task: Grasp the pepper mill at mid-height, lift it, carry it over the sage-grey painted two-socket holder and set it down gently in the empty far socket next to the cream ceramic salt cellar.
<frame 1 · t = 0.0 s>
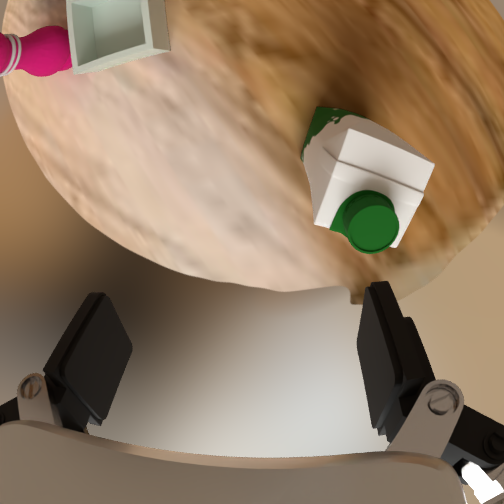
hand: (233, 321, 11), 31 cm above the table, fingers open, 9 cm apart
milk carton: (334, 140, 37), on the table
pepper mill: (66, 50, 31), on the table
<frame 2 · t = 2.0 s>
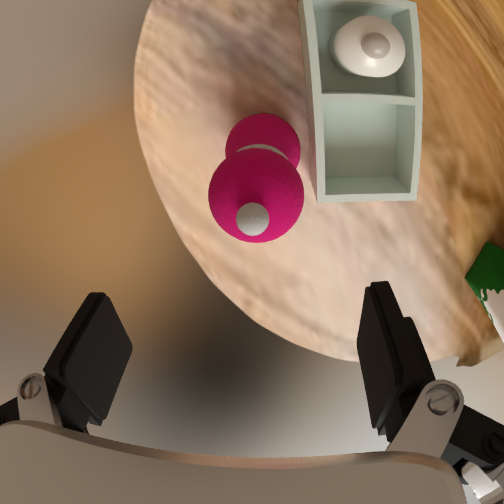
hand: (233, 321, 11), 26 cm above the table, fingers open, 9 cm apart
milk carton: (488, 263, 39), on the table
pepper mill: (264, 140, 33), on the table
salt cellar: (354, 50, 25), point 1 cm above the table, touching rack
rack: (355, 93, 29), on the table
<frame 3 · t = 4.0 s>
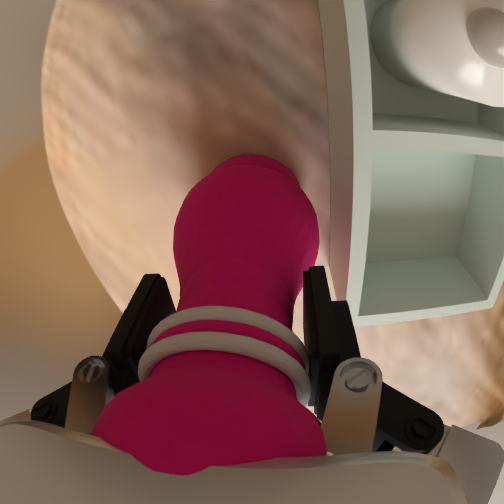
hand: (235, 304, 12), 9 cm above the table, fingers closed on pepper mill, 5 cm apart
pepper mill: (252, 200, 20), on the table, touching gripper
salt cellar: (416, 42, 12), point 1 cm above the table, touching rack
rack: (412, 120, 16), on the table
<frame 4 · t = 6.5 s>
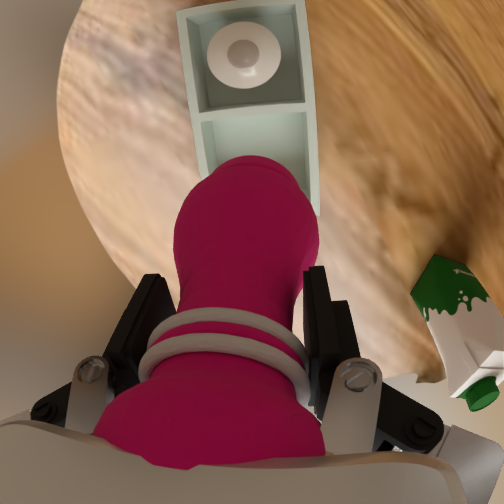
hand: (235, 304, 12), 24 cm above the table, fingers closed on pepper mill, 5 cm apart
milk carton: (438, 278, 39), on the table
pepper mill: (252, 201, 20), point 14 cm above the table, touching gripper
salt cellar: (249, 59, 26), point 1 cm above the table, touching rack
rack: (255, 104, 29), on the table
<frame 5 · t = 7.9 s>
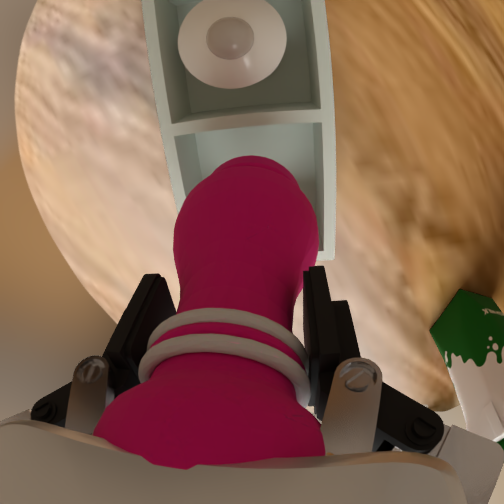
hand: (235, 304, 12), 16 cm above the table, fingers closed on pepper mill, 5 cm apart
milk carton: (461, 313, 33), on the table
pepper mill: (252, 201, 20), point 6 cm above the table, touching gripper
salt cellar: (243, 48, 19), point 1 cm above the table, touching rack
rack: (251, 109, 22), on the table
when the fingers open (12 cm above the table, at t = 9.1 s): pepper mill drops 1 cm, resting on rack.
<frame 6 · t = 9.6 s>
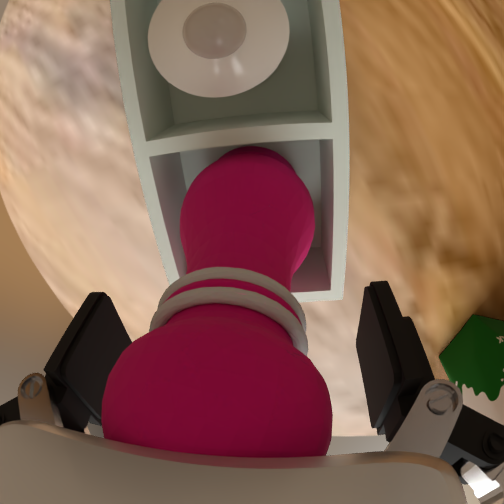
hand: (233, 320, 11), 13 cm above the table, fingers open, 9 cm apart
milk carton: (472, 337, 29), on the table
pepper mill: (252, 189, 21), point 1 cm above the table, touching rack
salt cellar: (236, 46, 16), point 1 cm above the table, touching rack
rack: (246, 118, 19), on the table
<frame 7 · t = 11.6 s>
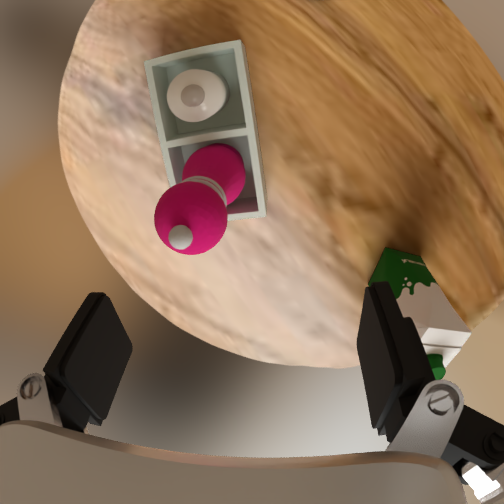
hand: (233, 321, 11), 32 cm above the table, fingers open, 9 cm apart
milk carton: (394, 269, 47), on the table
pepper mill: (219, 165, 39), point 1 cm above the table, touching rack
salt cellar: (206, 93, 34), point 1 cm above the table, touching rack
rack: (214, 129, 37), on the table
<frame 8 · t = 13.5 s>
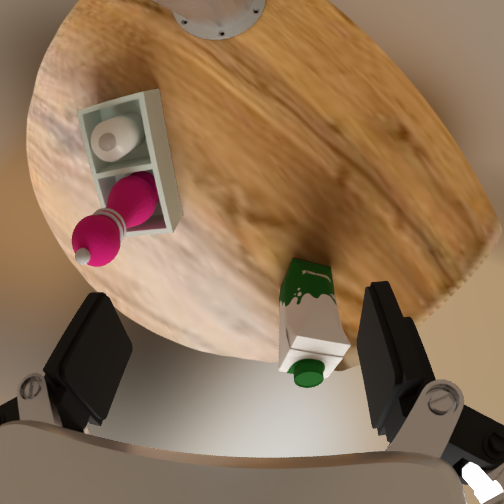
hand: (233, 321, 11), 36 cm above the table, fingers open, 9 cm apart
milk carton: (305, 277, 55), on the table
pepper mill: (143, 188, 46), point 1 cm above the table, touching rack
salt cellar: (130, 130, 41), point 1 cm above the table, touching rack
rack: (139, 158, 45), on the table
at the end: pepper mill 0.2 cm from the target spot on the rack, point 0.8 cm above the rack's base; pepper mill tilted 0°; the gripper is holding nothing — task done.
